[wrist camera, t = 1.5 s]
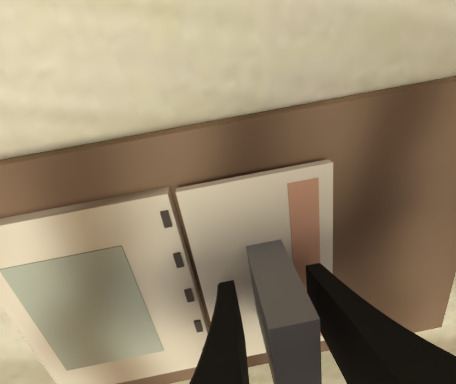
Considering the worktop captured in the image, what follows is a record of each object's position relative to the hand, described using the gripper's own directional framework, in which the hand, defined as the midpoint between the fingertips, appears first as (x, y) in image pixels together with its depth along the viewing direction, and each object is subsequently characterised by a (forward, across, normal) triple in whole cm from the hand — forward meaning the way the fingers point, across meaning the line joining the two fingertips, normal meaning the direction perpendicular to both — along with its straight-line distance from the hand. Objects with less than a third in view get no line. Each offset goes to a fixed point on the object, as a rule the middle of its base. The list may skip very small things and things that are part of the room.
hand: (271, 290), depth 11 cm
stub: (+1, 0, 0) cm, 1 cm away
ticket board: (+2, +1, 0) cm, 3 cm away
